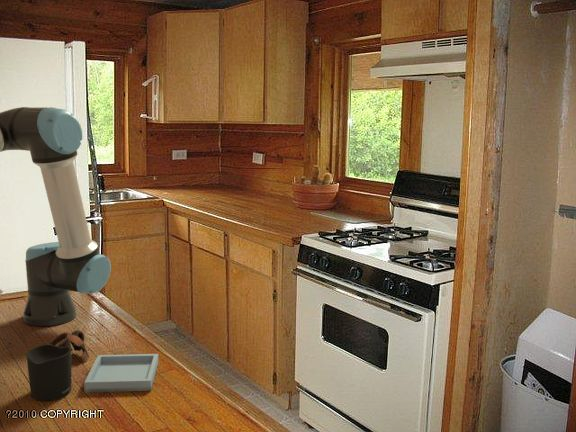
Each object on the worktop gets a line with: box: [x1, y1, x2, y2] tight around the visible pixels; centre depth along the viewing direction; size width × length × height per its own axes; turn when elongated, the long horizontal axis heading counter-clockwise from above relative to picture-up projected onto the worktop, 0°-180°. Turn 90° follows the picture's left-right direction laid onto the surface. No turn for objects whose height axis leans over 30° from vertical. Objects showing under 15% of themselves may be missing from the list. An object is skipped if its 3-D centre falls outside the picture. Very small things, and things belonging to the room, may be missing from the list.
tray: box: [83, 353, 159, 393], centre depth 146 cm, size 15×15×2 cm
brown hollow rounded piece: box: [49, 329, 90, 364], centre depth 156 cm, size 12×10×8 cm
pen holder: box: [26, 343, 73, 402], centre depth 137 cm, size 9×9×10 cm
